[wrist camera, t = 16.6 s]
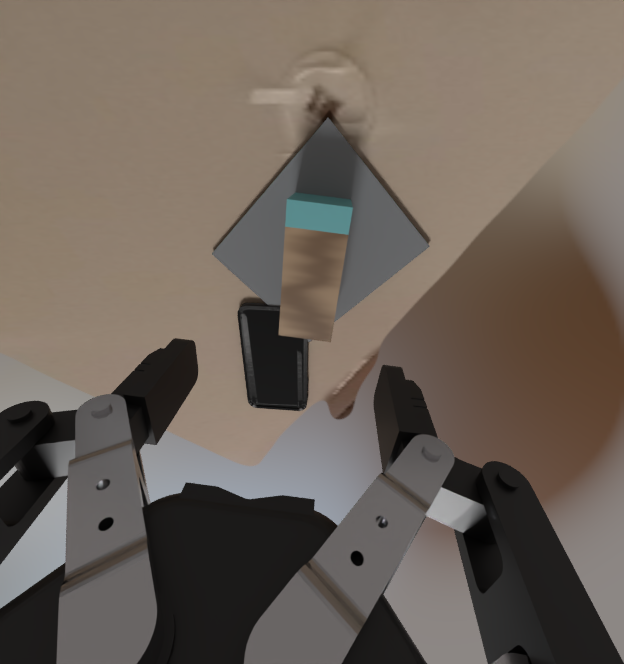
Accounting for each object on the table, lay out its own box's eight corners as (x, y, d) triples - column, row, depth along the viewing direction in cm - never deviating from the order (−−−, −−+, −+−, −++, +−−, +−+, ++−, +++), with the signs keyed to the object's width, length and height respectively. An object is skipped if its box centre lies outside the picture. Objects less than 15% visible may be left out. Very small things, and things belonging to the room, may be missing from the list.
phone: (248, 407, 40) (236, 305, 33) (250, 401, 41) (239, 301, 34) (307, 411, 40) (308, 308, 32) (308, 405, 41) (309, 304, 33)
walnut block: (278, 335, 29) (286, 199, 23) (286, 311, 33) (295, 192, 27) (330, 342, 29) (352, 207, 23) (332, 318, 33) (350, 199, 27)
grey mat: (213, 252, 31) (211, 253, 31) (328, 118, 25) (328, 117, 24) (309, 340, 35) (309, 342, 35) (428, 244, 29) (429, 246, 28)
